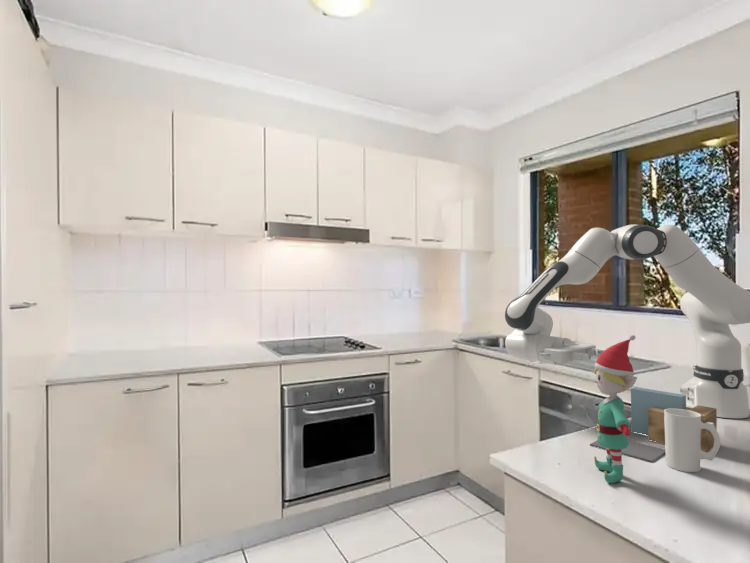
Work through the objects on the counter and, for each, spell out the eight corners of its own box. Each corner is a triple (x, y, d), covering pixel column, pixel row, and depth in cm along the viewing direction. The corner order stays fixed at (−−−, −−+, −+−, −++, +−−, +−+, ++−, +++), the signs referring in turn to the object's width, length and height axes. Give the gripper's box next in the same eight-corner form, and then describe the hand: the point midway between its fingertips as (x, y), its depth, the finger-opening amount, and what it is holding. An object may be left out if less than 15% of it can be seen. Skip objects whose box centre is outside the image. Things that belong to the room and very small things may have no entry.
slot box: (648, 440, 115) (648, 405, 115) (663, 432, 121) (662, 399, 121) (704, 454, 105) (703, 416, 106) (716, 444, 112) (716, 408, 112)
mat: (590, 445, 112) (590, 443, 112) (607, 436, 118) (607, 435, 118) (651, 462, 101) (651, 460, 101) (667, 451, 107) (667, 450, 107)
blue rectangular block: (631, 432, 121) (630, 388, 121) (635, 430, 123) (635, 386, 123) (682, 444, 112) (682, 397, 112) (686, 441, 114) (686, 395, 114)
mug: (661, 466, 98) (660, 412, 99) (668, 458, 103) (667, 406, 103) (718, 480, 91) (717, 422, 92) (722, 470, 96) (722, 415, 96)
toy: (586, 459, 103) (584, 330, 103) (623, 462, 101) (622, 330, 101) (608, 494, 86) (606, 339, 86) (653, 497, 84) (651, 340, 84)
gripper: (534, 343, 134) (580, 348, 123) (568, 337, 147) (612, 342, 136) (534, 364, 134) (580, 370, 123) (568, 356, 147) (612, 362, 136)
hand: (597, 355), depth 130 cm, fingers open, 8 cm apart
